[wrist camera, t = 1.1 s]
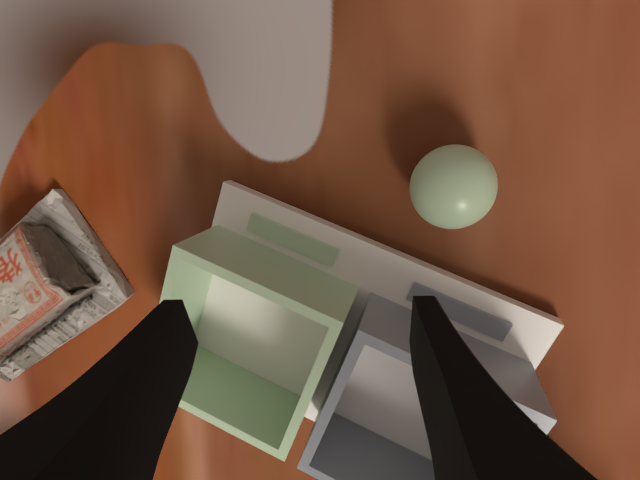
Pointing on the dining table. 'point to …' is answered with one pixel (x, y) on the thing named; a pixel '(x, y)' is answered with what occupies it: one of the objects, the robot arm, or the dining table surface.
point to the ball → (453, 186)
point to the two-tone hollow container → (332, 338)
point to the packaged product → (52, 283)
